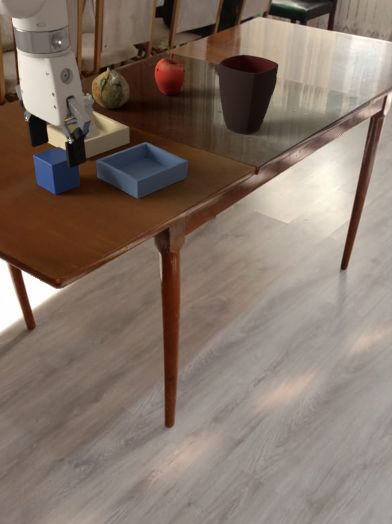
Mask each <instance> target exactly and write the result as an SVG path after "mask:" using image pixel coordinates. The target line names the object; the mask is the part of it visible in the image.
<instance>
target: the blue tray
mask: <svg viewBox="0 0 392 524" xmlns="http://www.w3.org/2000/svg"><path fill="white" fill-rule="evenodd" d="M188 163H189V161H188V160H187V159H184V158H182V157H180V156H178V155H176V154H174V153H171V152H169V151H167V150H164V149H162V148H160V147H158V146H156V145H155V144H152V143H150V142H148V141H145V142H142V143H140V144H136V145H134V146H131V147H128V148H126V149H123V150H120V151H118V152H114V153H112V154H110V155H107V156H103V157H100V158H98V159H96V160H95V166H96V178H98V179H100V180H101V181H103V182H105V183H107V184H110V185H111V186H113V187H114V188H117V189H119V190H121V191H122V192H124V193H126V194H127V195H129V196H131V197H134V198H135V199H137V200H138V199H141V198H143V197H146V196H148V195H149V194H152V193H155V192H157V191H159V190H162V189H164V188H166V187H169V186H172V185H174V184H176V183H178V182H181V181H183V180H185V179H188V165H189V164H188Z"/></svg>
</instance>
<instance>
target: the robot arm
mask: <svg viewBox="0 0 392 524" xmlns="http://www.w3.org/2000/svg"><path fill="white" fill-rule="evenodd" d="M0 15H1V16H5V17H8V18H11V21H12V27H13V34H14V40H15V46H16V52H17V67H18V78H19V79H18V80H19V84H18V85H16V86H15V87H14V89H15V92H16V95H17V97H18V100H19V106H20V107H21V109H22V111H23V112H24V113H23V118H24V120H25V122H26V126H27V132H28V139H29V144H30V147H32V148H36V147H39V146H42V145H45V144H49V143H48V142H49V138H48V131H47V125H48V124H47V123H49V124H53V125H55V126H58V127H61V129H62V131H63V133H64V135H65V137H66V139H67V142H65V148H66V156H67V164H68V166H69V167H71V168H72V167H75V166H77V165H79V166H80V165H82V164H85V163H86V161H87V158H86V152H85V142H84V139H86V135H87V134H88V133H89V126H90V122H91V118H90V116H89V115H88V114H87V113H86V111H85V107H84V99H83V93H84V92H83V87H82V80H81V77H80V71H79V67H78V62H77V60H76V56H75V52H73V51H72V46H71V44H72V43H71V37H70V26H69V17H68V15H69V14H68V8H67V0H0ZM69 118H71V119H69ZM66 119H69V120H66ZM64 120H66V121H64ZM70 125H74V127H75V130H74V131H73V132H72V133H71V131H70V129H69V127H68V126H70Z"/></svg>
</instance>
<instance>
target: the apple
mask: <svg viewBox="0 0 392 524" xmlns="http://www.w3.org/2000/svg"><path fill="white" fill-rule="evenodd" d="M156 44H157V45H164V47H165V48H166V49H167V52H169V55H170V57H163V58H161V59H160V60H159V61H158V62H157V64H156V66H155V68H154V79H155V82H156V85H157V88H158V89H159V91H160V92H161V94H163V95H165V96H174V95H178V94H179V93H180V91H181V89H182V86H183V85H184V82H185V73H186V72H185V67H184V65H183V64H182V62H180V61H179V60H178V59H176V58H173V57H174V55H175V53H174V52H173V51H171V48H170V45H169V44H168V43H165V42H163V41H157V42H156Z"/></svg>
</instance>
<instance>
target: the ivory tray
mask: <svg viewBox="0 0 392 524" xmlns="http://www.w3.org/2000/svg"><path fill="white" fill-rule="evenodd" d="M93 118H94V123H95V125H96V126H97V127H96V128H97V129H98V130H99V136H96V137H94V138H91V139H88V140H85V141H84V142H85V152H86V159H89V158H92V157H94V156H97V155H101V154H103V153H106V152H108V151H111V150H113V149H114V150H115V149H117V148H119V147H122V146H125V145H128V144H130V143H131V142H130V141H131V140H130V127H129V126H128V125H125V124H123V123H121V122H119V121H116V120H115V119H112V118H110V117H109V116H106V115H104V114H101V113H100V112H97V111H95V110H93ZM69 119H71V117H68V118H65V119H64V121H66V120H69ZM68 127H69V129H70V131H71V133H72V132H73V131H74V130H75V127H74V125H70V126H68ZM47 131H48V138H49V142H48V143H47V144H50V145H51V146H53V147H54V148H56V147H60V148H62V149H64V150H66V148H65V142H67V139H66V137H65V135H64V133H63V131H62V129H61V127H58V126H55V125H53V124H51V123H49V124H47Z"/></svg>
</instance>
